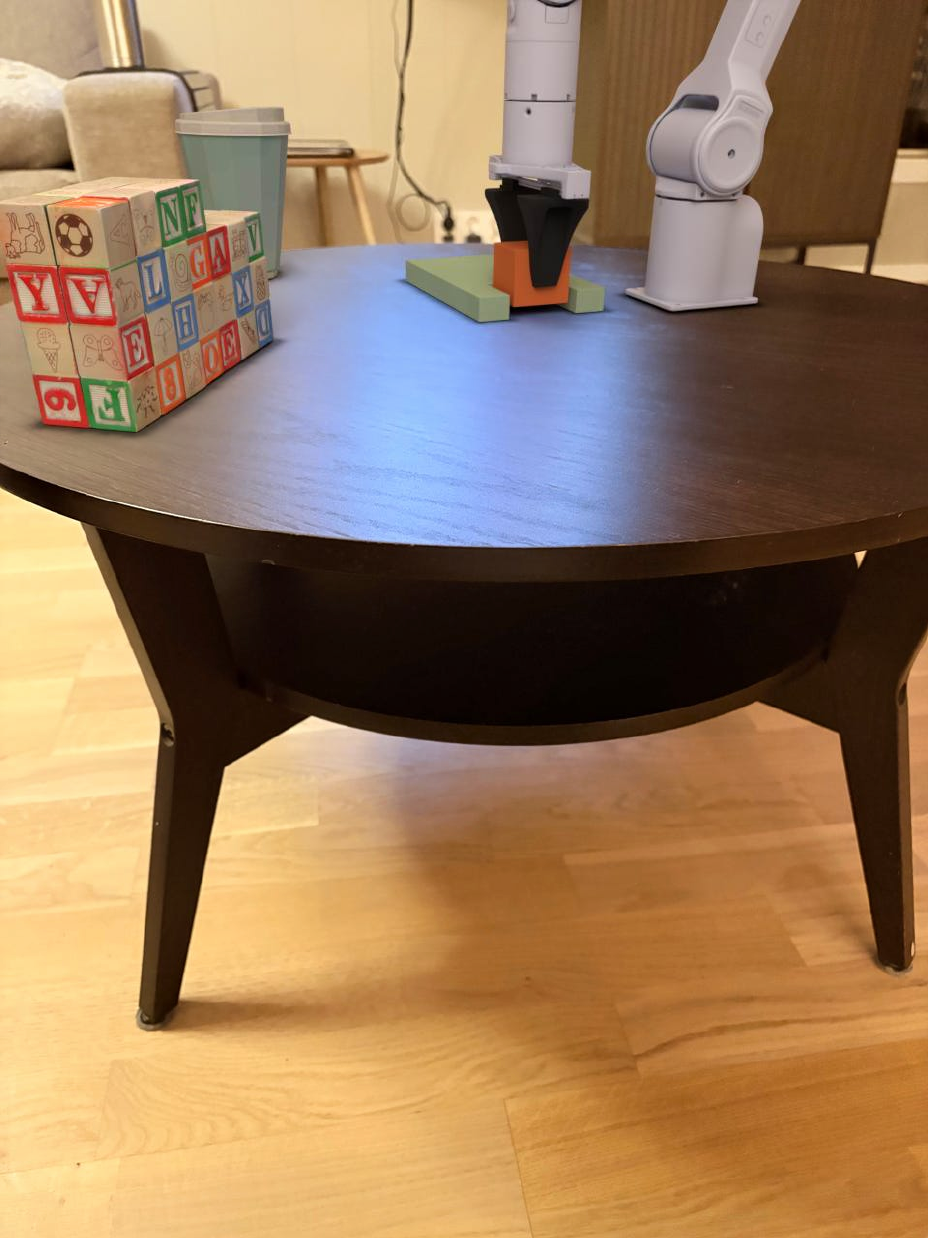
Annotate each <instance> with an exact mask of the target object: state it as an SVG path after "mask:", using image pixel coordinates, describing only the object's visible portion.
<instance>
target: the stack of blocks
mask: <svg viewBox="0 0 928 1238" xmlns="http://www.w3.org/2000/svg"><path fill="white" fill-rule="evenodd" d="M0 241H1V245H2V249H3V253H4V257H5V261H6V264H5V270H6V274H7V278H8V283H9V287H10V292H11V295H12V300H13V304H14V307H15V312H16V316H17V318H18V320H19V323H20V330H21V333H22V337H23V341H24V344H25V349H26V353H27V358H28V362H29V367H30V369H31V371H32V373H31V378H32V382H33V388H34V390H35V391H34V392H35V395H36V398H37V403H38V408H39V413H40V417H41V420H42V423H43V424H44V425H49V426H59V427H60V426H61V427H70V428H71V427H72V428H83V429H84V428H85V429H88V428H92V429H98V430H99V429H100V430H107V431H109V430H110V431H119V432H132V433H138V432H139V431H141V430H143V429H144V428H145V427H146V426H148V425H150V424H152V423H153V422H154V421H156V420H157V419H159V418H160V417H161V416H163V415H166V414H168V413H169V412H170V411H172V410H173V409H175V408H176V407H178V406H179V405H180V404H182V403H184V402H185V401H186V400H188V399H190V398H191V397H192V396H194V395H195V394H197V393H198V392H200V391H201V390H202V389H204V388H205V387H206V386H207V385H208V384H210V383H211V382H212V381H213V380H214V379H217V378H218V377H219V376H221V375H222V374H223V373H224V372H227V371H228V370H229V369H231V368H232V367H233V366H235V365H237V364H238V363H240V361H243V360H245V359H246V358H247V357H249V356H250V355H252V354H253V353H255V352H256V351H258V350H259V349H262V347H264V346H266V345H267V344H268V343H270V342H272V341H273V340H274V330H273V319H272V308H271V300H270V294H271V293H270V285H269V284H270V283H269V279H268V273H267V262H266V257H264V248H263V239H262V227H261V218H260V212H249V211H229V210H220V211H215V210H204V208H203V201H202V193H201V186H200V180H194V179H188V178H187V179H186V178H153V177H131V176H130V177H127V176H108V177H104V178H99V179H93V180H89V181H83V182H78V183H74V184H69V185H65V186H62V187H61V188H54V189H51V190H46V191H43V192H37V193H33V194H30V195H23V196H17V197H13V198H7V199H4V200H3V199H2V200H0Z"/></svg>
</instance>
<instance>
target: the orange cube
mask: <svg viewBox="0 0 928 1238" xmlns="http://www.w3.org/2000/svg"><path fill="white" fill-rule="evenodd" d="M493 254H494V263H493V288H495V289H497V290H500V291H502V292H504V293H506V294H508V295H510V307H513V308H521V307H534V306H544V305H556V304H558V303H568V292H569V277H570V274H571V261H572V247H571V246H569V247H568V250H567V253H566V256H565V259H564V263H563V266H562V270H561V273H560V276H559V280H558V283H557V285H556V286H550V287H533V286H532V282H531V277H530V269H529V248H528V241H513V242H501V241H498V242H493Z"/></svg>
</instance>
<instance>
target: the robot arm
mask: <svg viewBox="0 0 928 1238" xmlns="http://www.w3.org/2000/svg"><path fill="white" fill-rule="evenodd" d="M801 1H802V0H727V2H726V4H725V7H724V9H723V11H722V13H721V16H720V19H719V21H718V24H717V25H716V27H715V28H716V29H715V31H714V33H713V35H712V38H711V41H710V43H709V45H708V48H707V50H706V53H705V55H704V57H703V59H702V61H701V62H700V63H699V65H697V66H696V68H694V69H693V71H691V72H690V73H689V74H688V75H687V76H686V78H685V79H683V81H682V82H681V83H680V84H679V85H678V87H677V90H676V91H675V94H674V97H673V98H672V100H671V102H670V103H669V105H668V106H667V108H666V109H665V110H664V111H663V112H662V113H661V114H660V115H659V116H658V117H657V118H656V120H655V121H654V122H653V124H652V125H651V127H650V129H649V132H648V135H647V138H646V143H645V159H646V163H647V166H648V168H649V170H650V173H652V175H653V176H654V177H655V184H654V185H655V186H654V193H655V194H654V198H653V206H652V215H651V224H650V233H649V245H648V251H647V253H648V254H647V262H646V263H647V264H646V271H645V272H646V273H645V282H644V286H641V287H630V288H629V287H628V288H626V289H625V291H624V292H625V295H627V296H630V297H632V298H635V299H638V300H641V301H643V302H644V303H645V302H646V303H648V304H651V305H653V306H655V307H659V308H661V309H663V310H666V311H669V312H679V311H680V312H681V311H691V310H702V309H712V308H721V307H722V308H724V307H733V306H744V305H745V306H746V305H754V304H757V303H758V300H759V298H758V297H756V296H754V289H755V283H756V277H757V272H758V265H759V259H760V253H761V247H762V241H763V235H764V217H763V212H762V209H761V206H760V204H759V202H757V200H755V199H754V198H753V197H752V196H750V195H747V194H743V189H744V188H745V187H746V186H747V185H748V184H749V183H750V182H751V181H752V180H753V178H754V177H755V175H756V173H757V172H758V169H759V168H760V165H761V162H762V159H763V153H764V140H765V133H766V129H767V126H768V123H769V120H770V119H771V116H772V114H773V111H774V107H773V103H772V100H771V97H770V94H769V92H768V89H767V85H766V81H767V79H768V77H769V75H770V72H771V70H772V68H773V66H774V63H775V61H776V58H777V56H778V54H779V51H780V50H781V47H782V45H783V42H784V40H785V39H786V36H787V33H788V31H789V28H790V26H791V24H792V22H793V20H794V17H795V16H796V13H797V11H798V8H799V6H800V3H801ZM582 5H583V0H506V29H505V35H504V36H505V39H504V40H505V41H504V42H505V43H504V70H503V71H504V75H503V107H502V108H503V109H502V141H501V142H502V143H501V144H502V145H501V154H491V155H489V156H488V157H489V159H488V160H489V161H488V179H489V180H491V181H501V184H499V187H488V188H485V189H484V197H485V200H486V201H487V204H488V206H489V207H490V210H491V212H492V215H493V217H494V220H495V224H496V227H497V230H498V231H497V232H498V235H499V240H500V242H513V241H528V248H529V269H530V277H531V282H532V286H533V287H550V286H556V285H557V283H558V280H559V276H560V273H561V270H562V266H563V263H564V259H565V256H566V253H567V250H568V247H570V244H571V241H572V239H573V236H574V234H575V232H576V230H577V228H578V226H579V224H580V222H581V220H582V219H583V217H584V215H585V214H586V213H587V211H588V209H589V207H590V195H591V179H592V170H589V169H584V168H582V167H581V166H579V165H578V164H576V163H575V162H573V151H574V136H575V123H576V121H575V120H576V107H577V106H576V105H577V101H576V100H577V87H578V73H579V59H580V43H581V24H582V23H581V21H582V8H583V6H582ZM535 179H536V180H535Z"/></svg>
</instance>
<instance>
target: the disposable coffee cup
mask: <svg viewBox="0 0 928 1238" xmlns="http://www.w3.org/2000/svg"><path fill="white" fill-rule="evenodd" d="M291 129H292V128H291V123H290V122H289V121H288V120H285V108H284V107H283V106H248V107H241V108H240V107H239V108H227V109H216V110H206V111H193V112H182V113H181V112H180V113H179V118H176V119H175V121H174V133H175V134H176V136H177V139H178V143H179V148H180V152H181V154H182V155H181V156H182V160H183V164H184V168H185V172H186V177H187V179H194V180H200V186H201V193H202V201H203V208H204V210H215V211H220V210H229V211H249V212H260V218H261V227H262V239H263V248H264V257H266V262H267V273H268V280H269V279H274V278H275V277H277V276H278V274H279V273H278V272H279V268H281V259H282V258H281V256H282V243H283V242H282V240H283V229H284V228H283V227H284V209H285V194H286V180H287V179H286V178H287V164H288V150H289V149H288V148H289V136H290V135H292V130H291Z"/></svg>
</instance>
